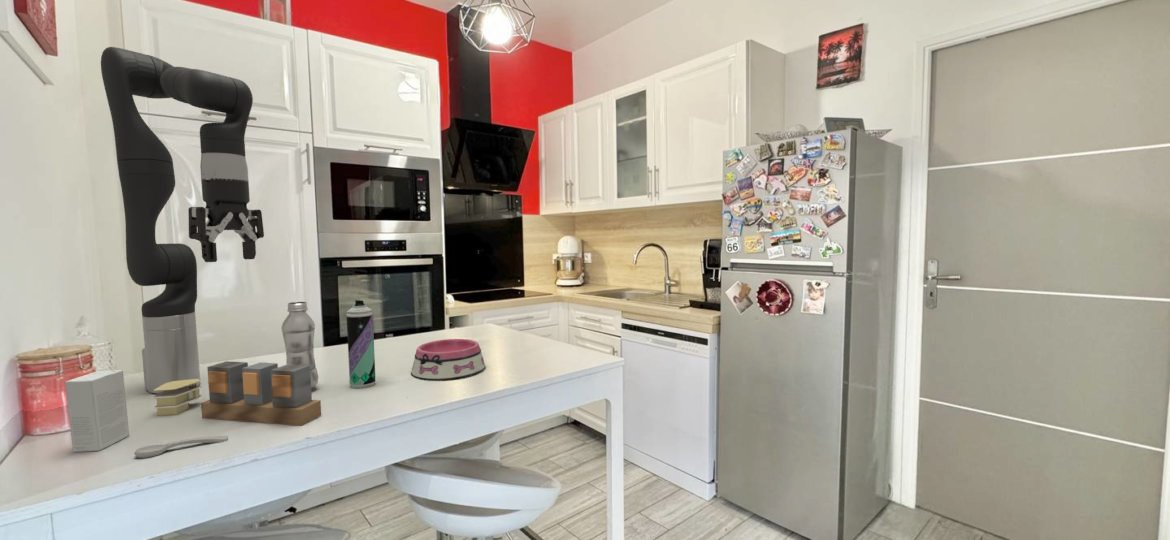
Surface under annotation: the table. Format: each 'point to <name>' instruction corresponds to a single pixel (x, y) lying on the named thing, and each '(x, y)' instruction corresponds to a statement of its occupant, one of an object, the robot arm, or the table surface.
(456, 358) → the dog bowl
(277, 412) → the rail
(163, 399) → the stacked layers on plate
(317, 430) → the table surface
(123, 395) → the skincare box
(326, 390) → the table surface
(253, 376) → the grey block
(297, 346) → the plastic bottle
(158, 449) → the spoon
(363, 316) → the spray can
